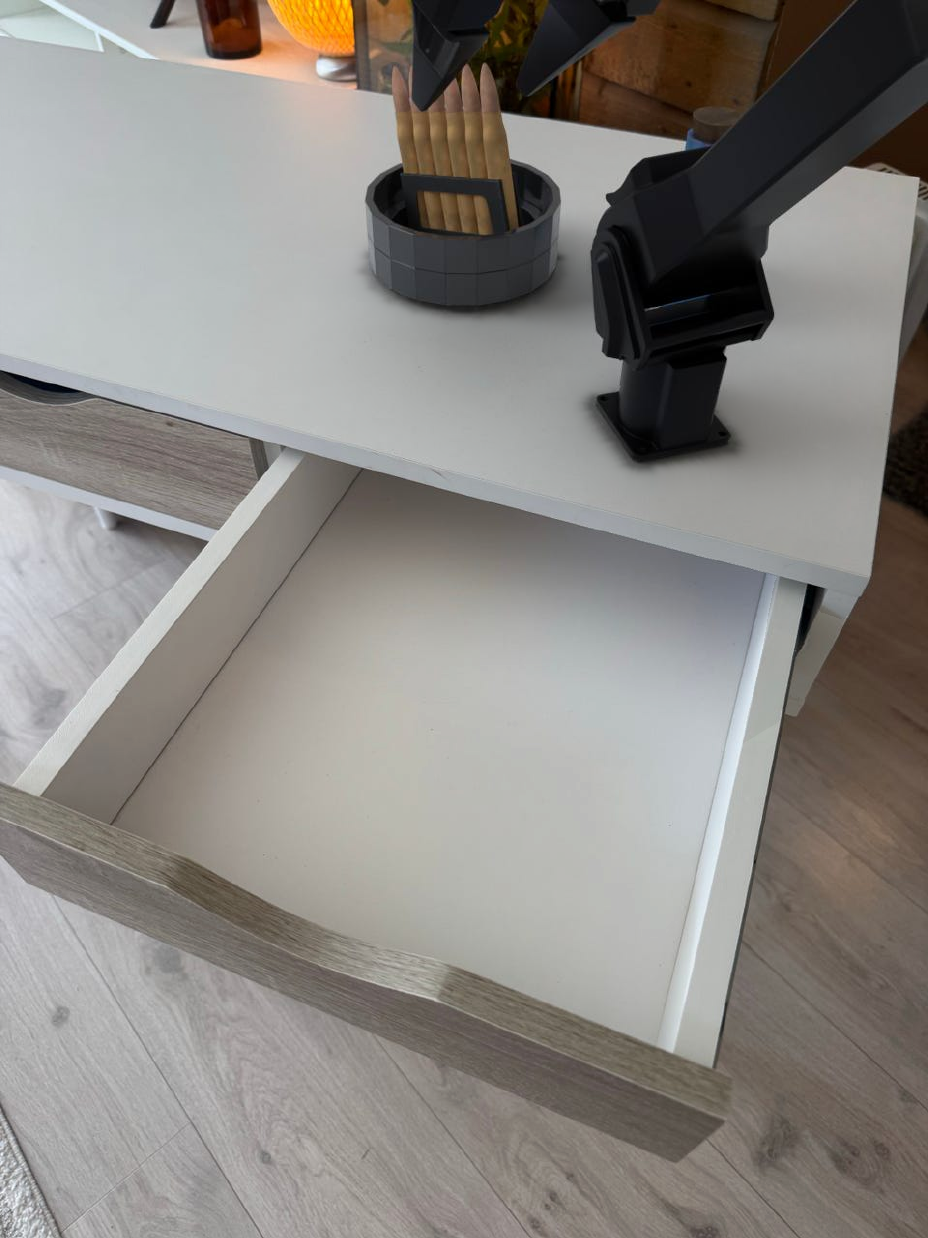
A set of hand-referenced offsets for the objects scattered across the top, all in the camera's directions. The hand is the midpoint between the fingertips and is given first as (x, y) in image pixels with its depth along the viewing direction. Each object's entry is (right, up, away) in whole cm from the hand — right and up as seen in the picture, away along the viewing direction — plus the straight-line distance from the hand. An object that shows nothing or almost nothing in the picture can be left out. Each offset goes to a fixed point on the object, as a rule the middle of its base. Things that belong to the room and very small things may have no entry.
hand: (472, 98), depth 58 cm
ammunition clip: (0, -4, +13) cm, 13 cm away
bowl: (-1, -5, +14) cm, 15 cm away
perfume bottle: (+16, -8, +12) cm, 21 cm away
